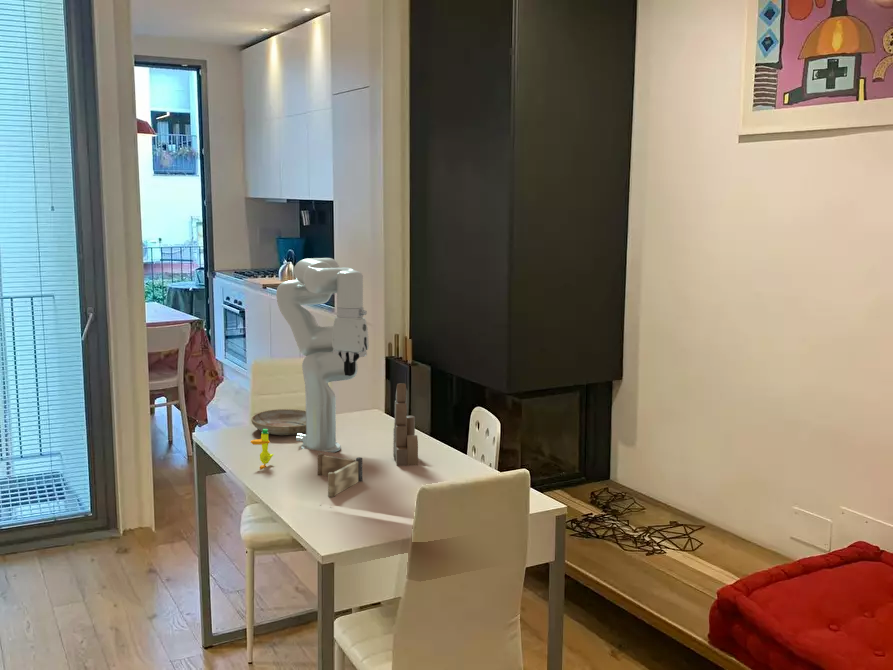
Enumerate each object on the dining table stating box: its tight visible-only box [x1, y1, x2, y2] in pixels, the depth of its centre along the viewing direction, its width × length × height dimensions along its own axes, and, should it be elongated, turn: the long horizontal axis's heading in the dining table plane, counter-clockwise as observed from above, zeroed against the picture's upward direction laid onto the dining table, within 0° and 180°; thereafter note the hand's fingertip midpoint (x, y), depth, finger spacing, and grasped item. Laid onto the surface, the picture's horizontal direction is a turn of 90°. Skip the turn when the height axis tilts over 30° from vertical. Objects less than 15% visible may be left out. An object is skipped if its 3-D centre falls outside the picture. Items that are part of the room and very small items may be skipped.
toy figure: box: [250, 429, 275, 470], centre depth 261 cm, size 7×4×12 cm, turn 99°
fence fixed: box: [317, 452, 363, 483], centre depth 250 cm, size 14×2×7 cm, turn 68°
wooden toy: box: [392, 383, 419, 467], centre depth 268 cm, size 16×7×25 cm, turn 8°
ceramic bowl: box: [251, 408, 306, 436], centre depth 302 cm, size 23×24×5 cm
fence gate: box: [327, 460, 359, 498], centre depth 241 cm, size 14×2×6 cm, turn 155°
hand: (349, 374), depth 257 cm, fingers closed
